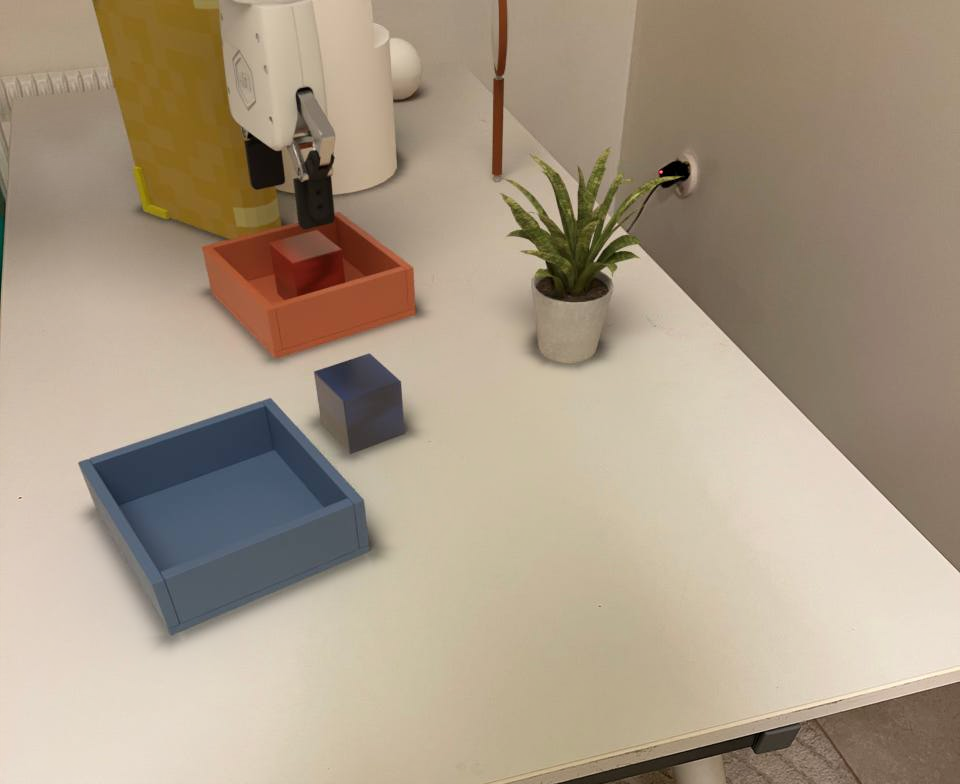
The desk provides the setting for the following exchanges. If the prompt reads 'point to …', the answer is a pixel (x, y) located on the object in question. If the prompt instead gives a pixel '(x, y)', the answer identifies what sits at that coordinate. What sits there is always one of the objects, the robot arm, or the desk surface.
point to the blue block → (360, 402)
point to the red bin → (321, 314)
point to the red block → (306, 264)
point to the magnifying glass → (498, 79)
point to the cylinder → (354, 96)
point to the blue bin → (225, 512)
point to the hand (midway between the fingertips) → (292, 204)
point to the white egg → (404, 68)
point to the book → (182, 115)
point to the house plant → (575, 261)
